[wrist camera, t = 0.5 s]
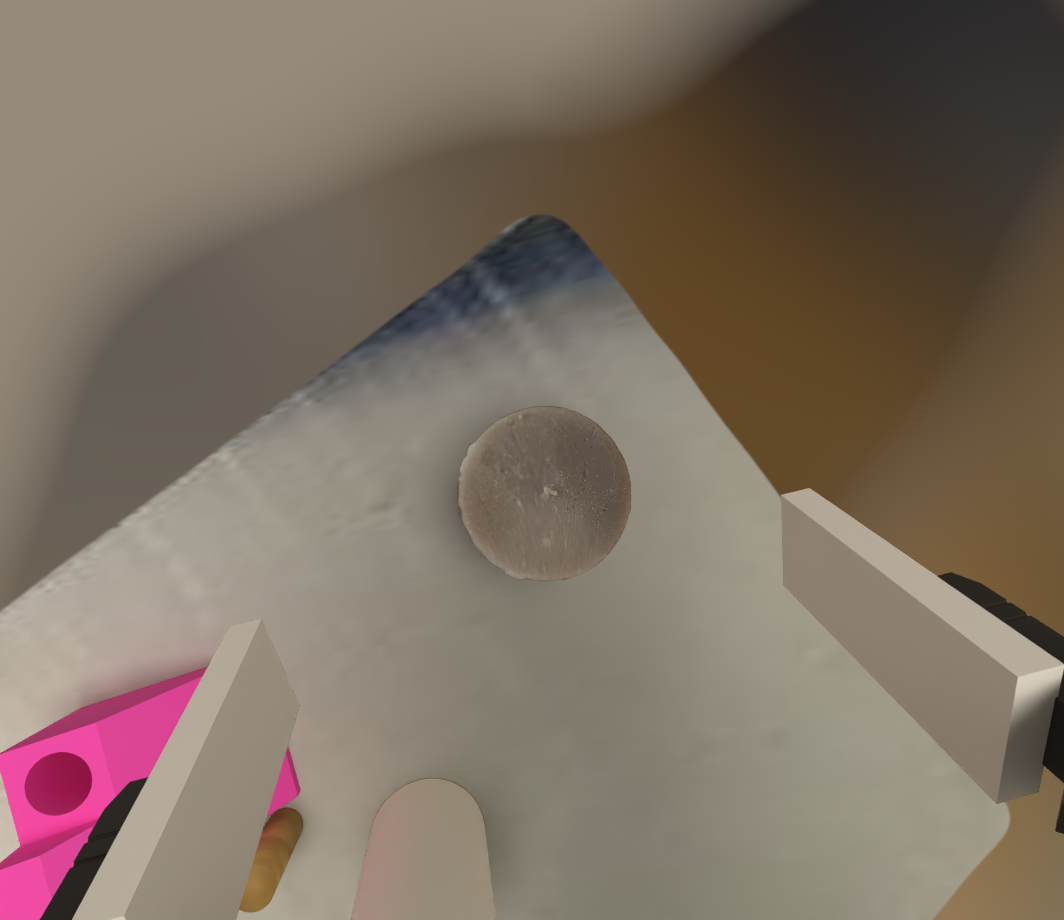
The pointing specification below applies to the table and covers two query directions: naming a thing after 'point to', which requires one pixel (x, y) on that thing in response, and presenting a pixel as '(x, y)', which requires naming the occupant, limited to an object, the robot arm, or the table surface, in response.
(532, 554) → the pillar candle
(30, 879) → the bracket
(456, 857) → the cup
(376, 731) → the table surface
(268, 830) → the bay
